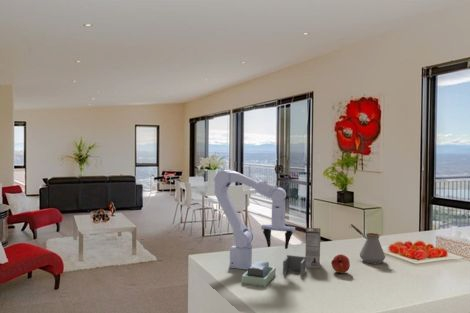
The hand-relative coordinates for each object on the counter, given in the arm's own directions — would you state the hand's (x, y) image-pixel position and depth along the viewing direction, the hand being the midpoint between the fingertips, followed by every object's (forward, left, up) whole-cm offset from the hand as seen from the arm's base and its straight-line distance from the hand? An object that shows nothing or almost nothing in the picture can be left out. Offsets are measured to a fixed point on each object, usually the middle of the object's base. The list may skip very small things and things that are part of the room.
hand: (277, 247), depth 177 cm
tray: (-4, -14, -10) cm, 18 cm away
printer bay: (+8, 0, -10) cm, 12 cm away
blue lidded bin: (-4, -15, -9) cm, 18 cm away
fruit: (+26, +7, -10) cm, 29 cm away
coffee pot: (+35, +34, -10) cm, 50 cm away
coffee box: (+13, +14, -10) cm, 22 cm away
